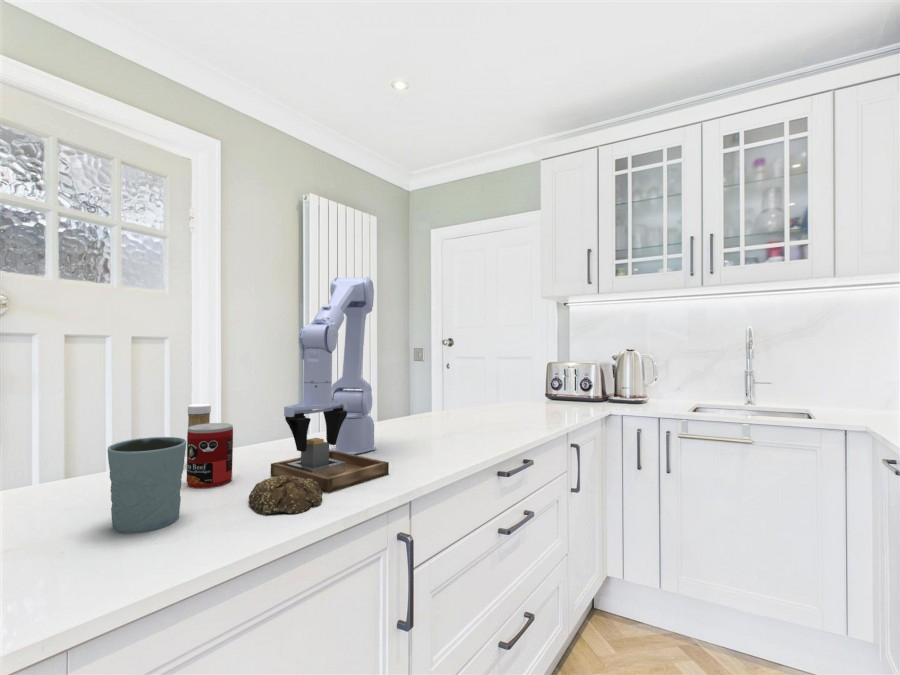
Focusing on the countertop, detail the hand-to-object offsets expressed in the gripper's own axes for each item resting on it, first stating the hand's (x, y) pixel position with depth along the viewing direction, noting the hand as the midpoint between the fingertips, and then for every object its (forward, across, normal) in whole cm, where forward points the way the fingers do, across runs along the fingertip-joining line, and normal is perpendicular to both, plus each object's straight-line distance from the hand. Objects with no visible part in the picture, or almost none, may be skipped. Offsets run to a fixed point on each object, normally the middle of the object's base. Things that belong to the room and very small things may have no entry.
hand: (316, 447), depth 98 cm
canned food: (+6, +16, -12) cm, 21 cm away
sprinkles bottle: (+6, +11, -27) cm, 30 cm away
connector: (+5, 0, 0) cm, 5 cm away
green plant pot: (+6, +32, +1) cm, 33 cm away
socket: (+6, 0, 0) cm, 6 cm away
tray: (+6, -2, +2) cm, 6 cm away
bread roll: (+6, +14, +10) cm, 18 cm away
